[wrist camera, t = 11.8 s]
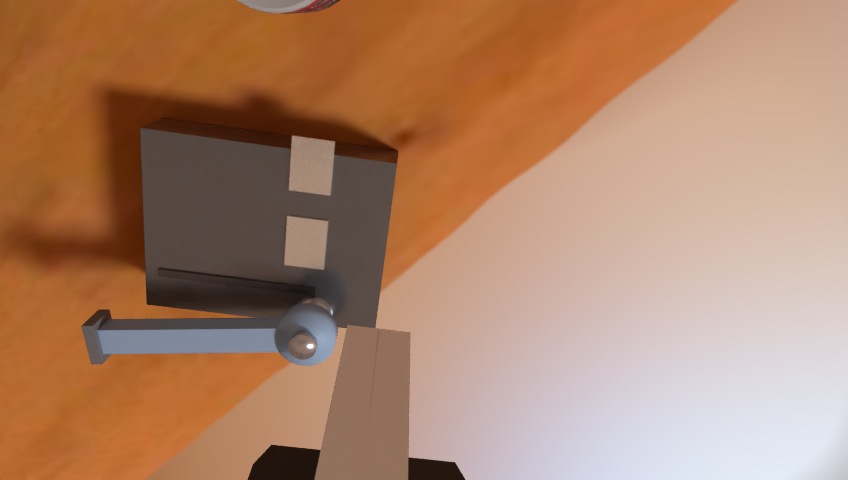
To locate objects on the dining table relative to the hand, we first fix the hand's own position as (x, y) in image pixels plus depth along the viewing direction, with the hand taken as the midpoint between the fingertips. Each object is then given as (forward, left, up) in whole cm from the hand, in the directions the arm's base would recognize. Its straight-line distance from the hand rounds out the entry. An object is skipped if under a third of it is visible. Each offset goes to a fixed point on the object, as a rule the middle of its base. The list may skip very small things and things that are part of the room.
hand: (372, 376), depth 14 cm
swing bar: (-12, -16, -26) cm, 33 cm away
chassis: (-9, -9, -32) cm, 35 cm away
